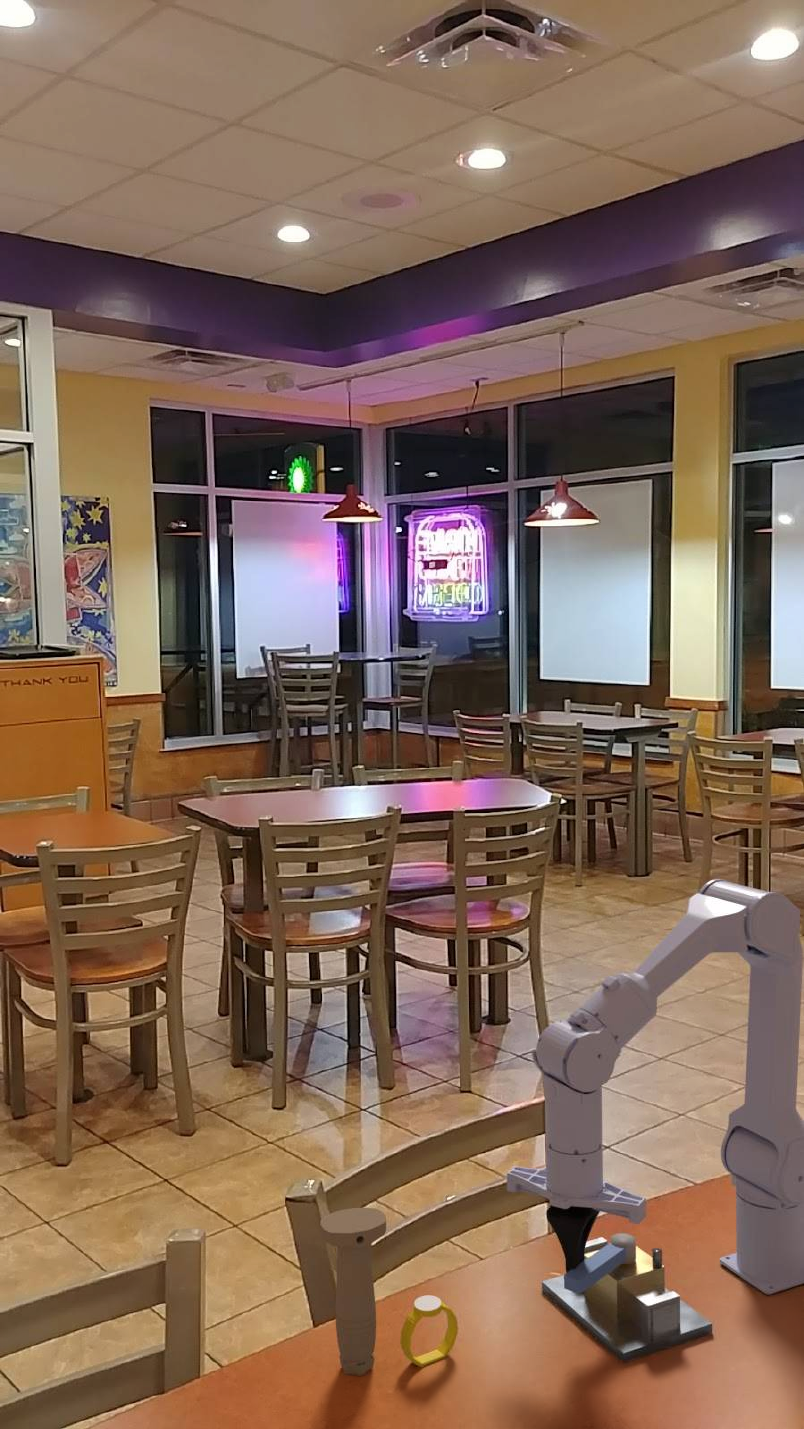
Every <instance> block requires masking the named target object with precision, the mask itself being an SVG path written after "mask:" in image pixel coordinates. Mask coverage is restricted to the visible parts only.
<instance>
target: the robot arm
mask: <svg viewBox="0 0 804 1429" xmlns="http://www.w3.org/2000/svg"><path fill="white" fill-rule="evenodd" d="M800 920H801V910H800V909H799V907H797V906H796V905H795V904H794V903H793V902H791V900H790V899H789V898H788V897H786V896H785V895H784V894H782V893H779V892H774V891H766V890H763V889H758V888H755V887H750V886H747V885H746V886H745V885H741V884H738V883H734V882H730V881H729V880H726V879H723V878H714V879H711V880H709V881H707V882H706V883H705V884H704V885H703V886H702V887H701V888H700V889H699V891H698V893H696V894H694V895H692V896H691V897H690V898H689V899H688V900H687V907H686V913H685V915H684V916H683V917H682V918H680V920H679V921H678V922H677V924H676V925H675V926H674V927H673V928H672V929H671V930H670V931H669V932H668V934H666V936H665V937H664V938H663V939H662V940H661V941H660V942H659V943H658V944H657V946H656V947H655V948H654V949H653V950H652V951H651V953H649V955H648V956H647V957H646V958H645V959H644V961H642V963H641V964H640V965H639V966H637V968H636V969H635V970H634V971H633V972H627V973H626V972H617V973H615V974H614V975H613V976H611V975H608V976H607V977H605V979H604V980H603V981H601V985H602V986H601V987H600V988H599V989H598V990H597V991H595V993H594V994H592V995H591V996H590V998H589V999H588V1000H587V1001H585V1003H583V1004H582V1005H581V1006H580V1007H579V1008H578V1009H575V1010H574V1011H573V1012H572V1013H571V1014H570V1016H569V1017H568V1018H567V1020H560V1022H559V1021H555V1022H553V1023H552V1024H549V1025H548V1026H547V1027H546V1028H544V1030H543V1031H542V1032H541V1033H540V1035H539V1037H538V1038H537V1039H538V1040H537V1042H536V1047H535V1048H534V1049H532V1050H531V1056H532V1060H533V1064H534V1066H535V1067H536V1069H538V1070H539V1071H540V1073H541V1076H542V1077H541V1078H542V1087H543V1088H544V1118H545V1119H544V1122H545V1135H544V1136H545V1169H541V1168H540V1169H539V1168H528V1167H524V1166H523V1167H522V1166H517V1165H515V1166H514V1167H512V1168H511V1169H510V1170H509V1171H508V1172H506V1191H507V1192H511V1193H518V1192H519V1191H520V1192H524V1193H527V1194H532V1195H535V1196H540V1197H543V1198H545V1199H548V1200H549V1208H547V1210H546V1211H545V1214H546V1220H547V1222H548V1223H549V1224H550V1227H551V1228H552V1229H553V1231H554V1233H555V1235H556V1237H557V1239H558V1241H559V1244H560V1246H561V1249H562V1252H563V1255H564V1258H565V1274H566V1273H567V1272H569V1271H570V1270H572V1269H573V1270H574V1269H575V1268H576V1267H577V1266H578V1265H579V1264H580V1263H582V1262H583V1261H584V1260H585V1253H584V1250H585V1246H586V1243H587V1241H589V1240H588V1239H589V1237H590V1233H591V1232H592V1229H593V1226H594V1224H595V1223H596V1220H597V1218H598V1216H599V1214H600V1212H602V1213H605V1214H610V1215H614V1216H617V1217H622V1218H625V1219H628V1222H629V1223H631V1224H635V1225H640V1223H642V1222H643V1221H644V1219H645V1218H646V1217H647V1198H646V1197H644V1196H640V1195H636V1194H634V1193H631V1192H629V1191H627V1190H625V1189H623V1188H621V1187H618V1186H616V1185H615V1184H614V1185H613V1184H612V1183H610V1182H609V1181H606V1180H604V1159H603V1158H604V1156H603V1155H604V1154H603V1153H604V1150H603V1147H604V1146H603V1085H605V1084H607V1083H608V1082H609V1080H610V1078H611V1077H612V1075H613V1072H614V1069H615V1063H616V1061H617V1060H618V1058H619V1057H620V1056H621V1055H620V1053H622V1049H623V1048H624V1047H625V1046H626V1045H627V1044H628V1043H629V1042H630V1041H631V1040H632V1039H633V1038H634V1037H635V1036H636V1035H638V1034H639V1032H640V1031H641V1030H643V1029H644V1028H645V1026H646V1025H648V1024H649V1022H650V1021H651V1020H653V1019H654V1017H655V1016H656V1015H657V1013H658V997H660V995H662V994H663V993H664V992H666V991H667V990H668V989H670V987H671V986H673V985H674V984H675V983H676V982H678V981H679V980H680V979H681V978H682V977H684V976H685V975H686V974H687V973H689V971H691V970H692V969H693V968H695V966H697V965H698V964H699V963H700V962H701V961H703V960H704V959H705V958H706V957H707V956H708V955H710V954H712V953H714V954H715V953H738V954H739V955H740V956H741V958H743V959H744V960H745V961H746V963H747V964H749V967H750V970H749V974H750V975H749V992H748V993H749V994H748V995H749V996H748V1012H747V1013H748V1018H747V1021H748V1022H747V1037H746V1038H747V1039H746V1042H747V1043H746V1060H745V1061H746V1062H745V1066H746V1067H745V1084H744V1087H745V1088H744V1103H743V1104H742V1105H740V1106H738V1107H737V1108H736V1109H735V1108H734V1110H732V1111H730V1113H729V1114H728V1123H727V1124H728V1126H727V1129H726V1133H725V1135H724V1137H723V1140H722V1141H721V1142H722V1143H721V1146H720V1160H721V1163H722V1165H723V1167H724V1169H725V1171H727V1172H728V1173H729V1174H731V1185H732V1186H734V1187H735V1221H736V1222H735V1224H736V1225H735V1227H736V1228H735V1229H736V1230H735V1232H736V1235H735V1236H736V1237H735V1238H736V1239H735V1240H736V1242H735V1243H736V1246H735V1247H736V1252H734V1253H731V1254H728V1255H725V1256H721V1257H719V1263H720V1264H721V1265H723V1266H724V1267H726V1268H727V1269H729V1270H730V1271H732V1272H733V1273H734V1274H736V1275H737V1276H739V1277H740V1278H741V1279H743V1280H744V1281H746V1282H748V1284H750V1285H752V1286H753V1287H754V1288H756V1289H758V1290H759V1291H761V1292H762V1293H764V1294H765V1295H772V1294H775V1293H778V1292H781V1291H784V1290H788V1289H790V1288H793V1287H796V1286H799V1285H802V1284H804V1119H803V1117H802V1116H801V1115H800V1114H799V1112H798V1111H797V1096H798V1095H797V1092H798V1074H799V1072H798V1070H799V1053H800V1052H799V1051H800V1029H801V1026H800V1025H801V1009H802V1008H801V1007H802V984H803V964H804V963H803V961H804V949H803V946H802V942H801V938H800V928H801V927H800V926H801V925H800V924H801V921H800Z"/></svg>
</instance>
